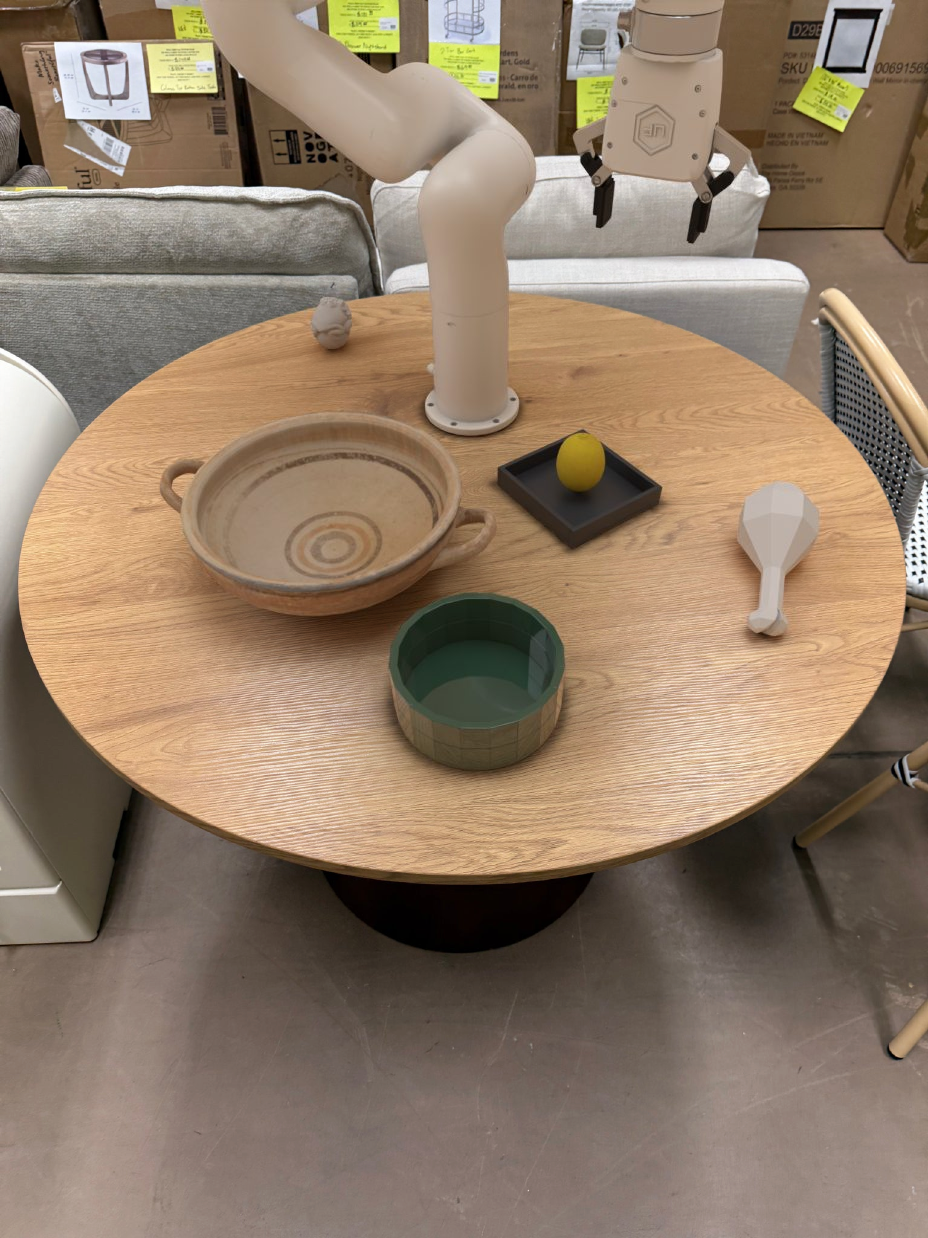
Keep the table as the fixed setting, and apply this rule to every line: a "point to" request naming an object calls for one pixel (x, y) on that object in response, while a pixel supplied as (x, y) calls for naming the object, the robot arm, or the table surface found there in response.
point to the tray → (578, 493)
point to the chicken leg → (776, 545)
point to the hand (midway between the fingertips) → (647, 230)
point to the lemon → (580, 462)
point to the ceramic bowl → (325, 512)
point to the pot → (477, 680)
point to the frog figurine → (331, 322)
